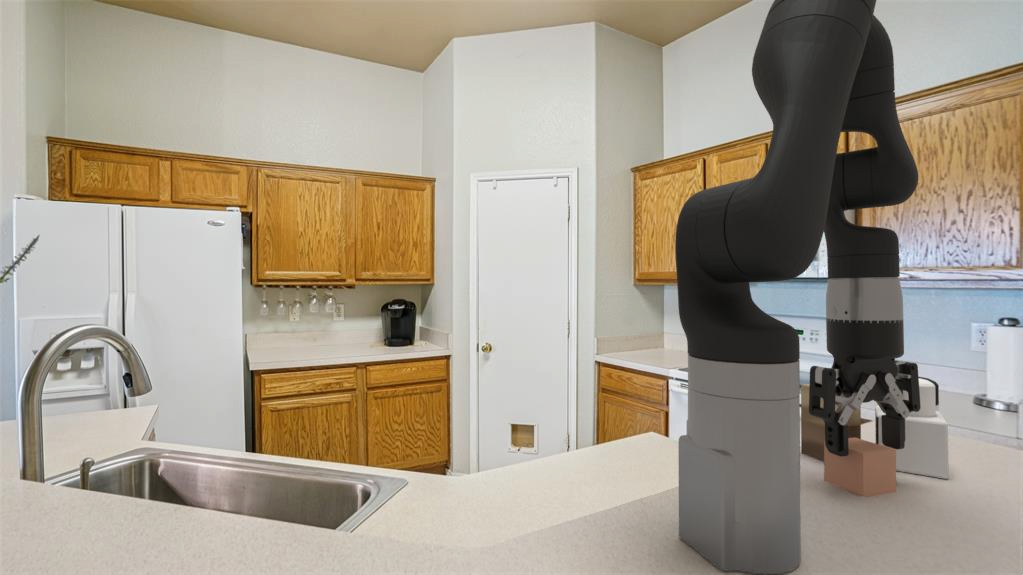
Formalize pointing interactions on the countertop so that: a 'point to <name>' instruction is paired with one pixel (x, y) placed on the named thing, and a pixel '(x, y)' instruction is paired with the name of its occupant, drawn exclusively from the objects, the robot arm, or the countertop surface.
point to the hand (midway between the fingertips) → (866, 450)
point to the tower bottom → (819, 438)
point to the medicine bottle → (922, 435)
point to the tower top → (852, 421)
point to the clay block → (862, 468)
